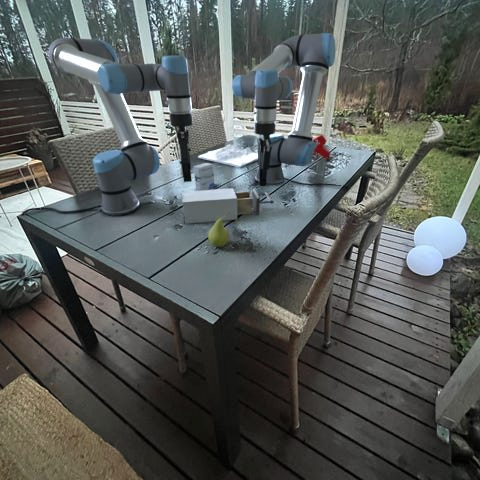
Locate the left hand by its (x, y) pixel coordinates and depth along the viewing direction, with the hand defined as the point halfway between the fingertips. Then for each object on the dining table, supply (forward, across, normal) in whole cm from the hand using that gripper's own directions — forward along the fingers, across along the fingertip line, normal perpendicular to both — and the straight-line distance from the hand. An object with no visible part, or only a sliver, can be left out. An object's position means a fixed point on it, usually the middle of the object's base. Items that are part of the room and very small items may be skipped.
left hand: (187, 175), depth 101 cm
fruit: (+18, +22, +9) cm, 30 cm away
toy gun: (+18, -69, +80) cm, 107 cm away
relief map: (+18, -81, +28) cm, 87 cm away
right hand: (+6, 0, +29) cm, 29 cm away
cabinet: (+18, 0, +7) cm, 19 cm away
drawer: (+17, 0, +20) cm, 26 cm away
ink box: (+18, -30, +7) cm, 35 cm away
